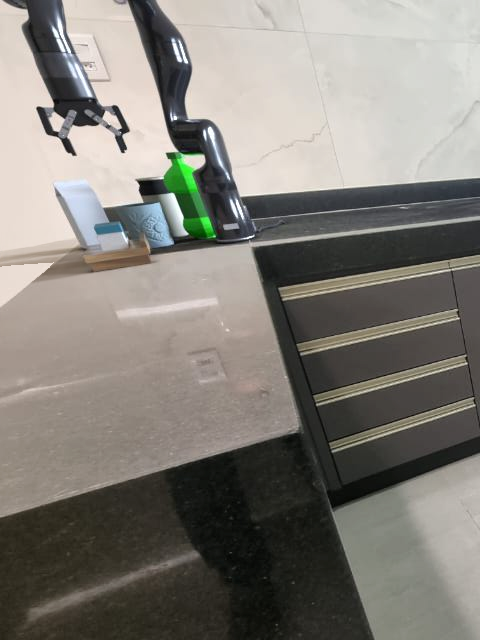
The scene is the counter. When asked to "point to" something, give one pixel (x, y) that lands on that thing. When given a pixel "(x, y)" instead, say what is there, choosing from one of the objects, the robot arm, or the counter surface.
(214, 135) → the robot arm
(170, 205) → the travel mug
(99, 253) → the wooden tray
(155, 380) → the counter surface
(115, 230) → the two-tone teal block
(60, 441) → the counter surface
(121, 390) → the counter surface
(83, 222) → the milk carton
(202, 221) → the plastic bottle
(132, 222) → the blue embossed mug
